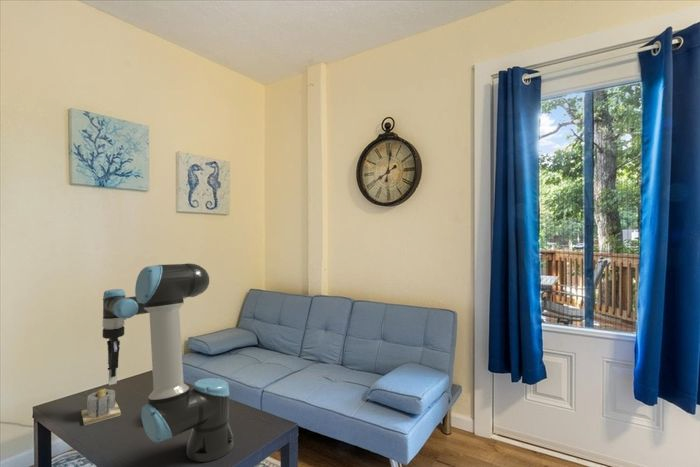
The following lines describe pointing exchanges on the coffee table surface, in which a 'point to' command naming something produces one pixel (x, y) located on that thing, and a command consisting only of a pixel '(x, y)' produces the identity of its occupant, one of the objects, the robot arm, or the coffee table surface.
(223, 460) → the coffee table surface
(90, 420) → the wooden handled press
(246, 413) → the coffee table surface
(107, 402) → the studded hollow tube
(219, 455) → the robot arm
